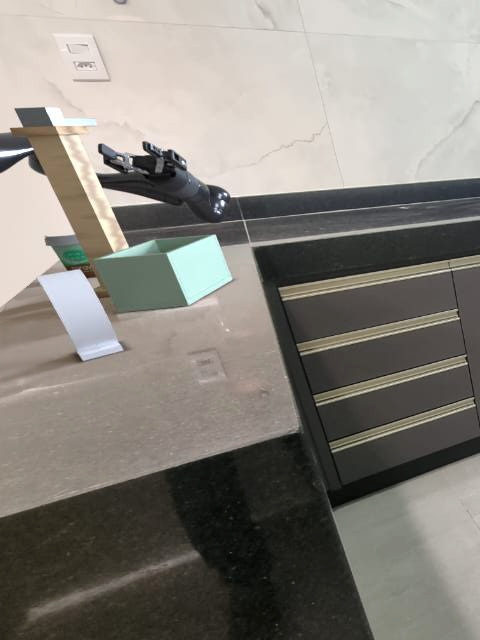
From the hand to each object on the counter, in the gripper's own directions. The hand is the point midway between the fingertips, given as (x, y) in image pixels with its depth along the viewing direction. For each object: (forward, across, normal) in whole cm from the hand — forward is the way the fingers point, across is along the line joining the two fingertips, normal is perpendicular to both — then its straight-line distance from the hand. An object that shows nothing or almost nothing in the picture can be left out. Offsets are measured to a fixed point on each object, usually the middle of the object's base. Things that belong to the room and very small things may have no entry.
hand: (122, 146), depth 118 cm
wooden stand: (+3, 0, +34) cm, 34 cm away
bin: (+11, +15, +38) cm, 43 cm away
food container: (-14, -16, +24) cm, 33 cm away
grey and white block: (+14, 0, +4) cm, 15 cm away
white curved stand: (+38, +20, +55) cm, 69 cm away
